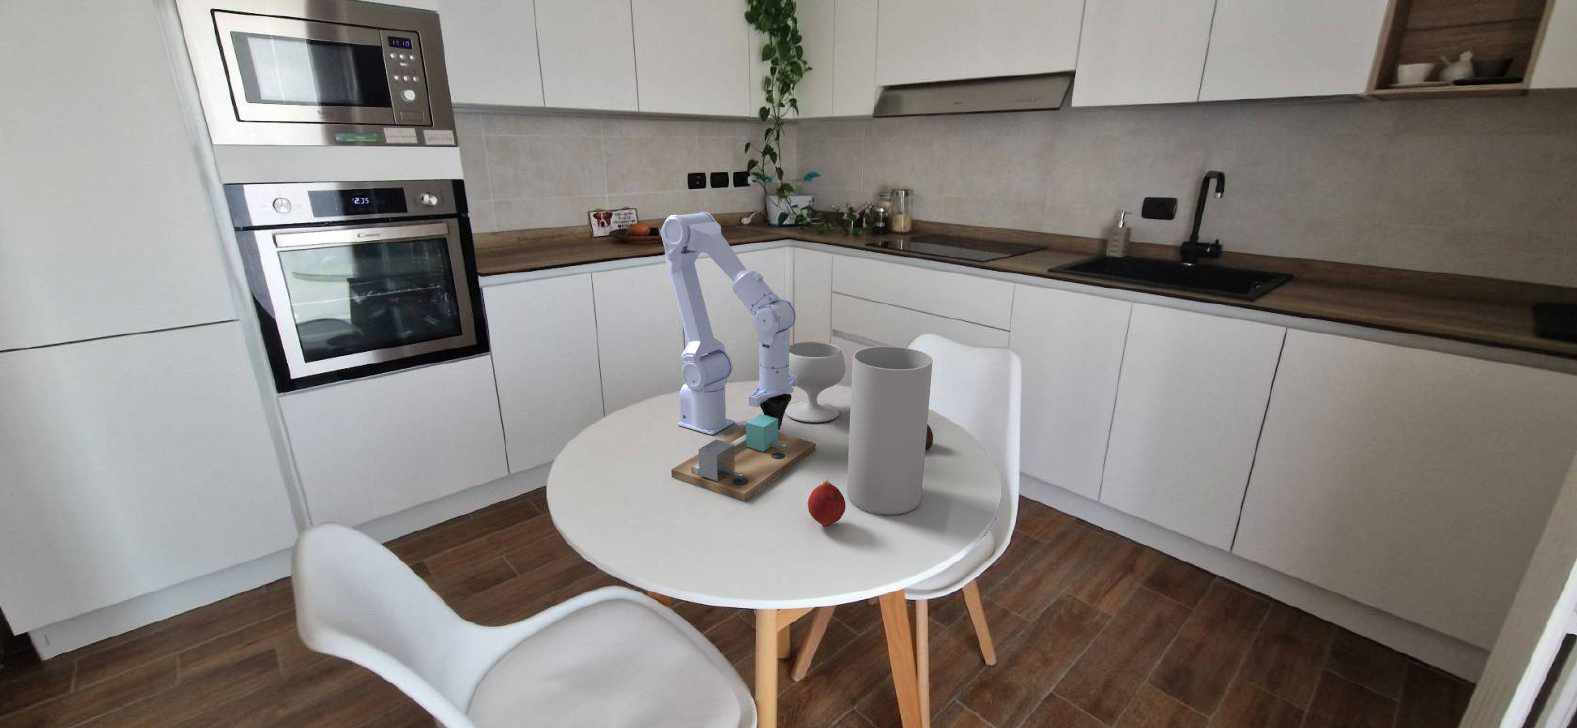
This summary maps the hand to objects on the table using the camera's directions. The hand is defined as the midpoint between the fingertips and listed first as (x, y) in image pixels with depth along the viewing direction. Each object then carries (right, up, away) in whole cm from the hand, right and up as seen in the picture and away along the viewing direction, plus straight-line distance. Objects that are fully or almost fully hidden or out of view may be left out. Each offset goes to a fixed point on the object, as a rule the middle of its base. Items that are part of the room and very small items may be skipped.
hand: (773, 429), depth 131 cm
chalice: (+8, +2, +17) cm, 19 cm away
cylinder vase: (+19, -10, -18) cm, 28 cm away
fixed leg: (-8, -6, -15) cm, 18 cm away
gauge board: (-5, -6, -6) cm, 10 cm away
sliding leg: (-1, -3, -4) cm, 5 cm away
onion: (+9, -13, -27) cm, 31 cm away
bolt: (+23, -5, -1) cm, 24 cm away
